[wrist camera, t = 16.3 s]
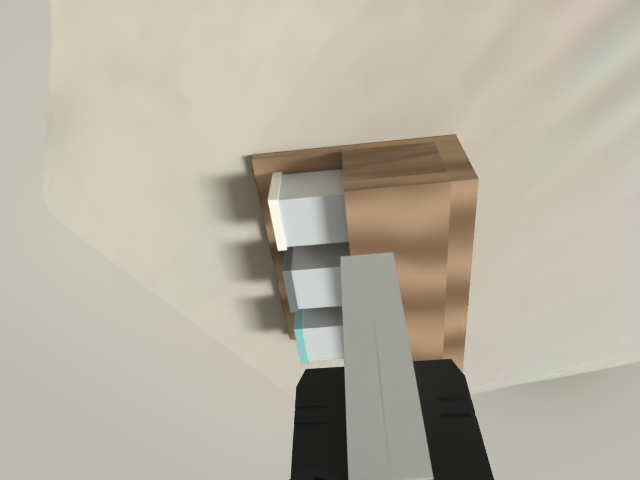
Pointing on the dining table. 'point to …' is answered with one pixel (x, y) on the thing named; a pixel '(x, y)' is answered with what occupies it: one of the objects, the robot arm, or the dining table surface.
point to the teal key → (319, 333)
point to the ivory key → (308, 208)
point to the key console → (400, 226)
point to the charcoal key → (314, 275)
